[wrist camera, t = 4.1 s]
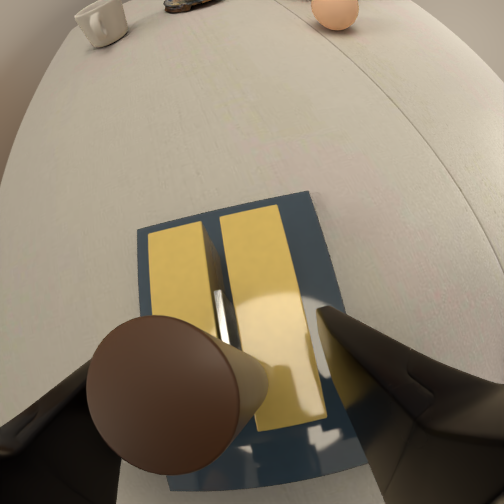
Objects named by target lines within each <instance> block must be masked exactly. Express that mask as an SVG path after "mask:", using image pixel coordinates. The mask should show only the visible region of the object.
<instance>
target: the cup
mask: <svg viewBox="0 0 504 504" xmlns="http://www.w3.org/2000/svg"><path fill="white" fill-rule="evenodd" d="M74 18H75V20H76V22H77V23H78V25H79V26H80V28H81V29H82V31H83V33H84V34H85V36H86V37H87V39H88V40H89V42H90V43H91V44H92V45H93V46H94V47H104V46H106V45H109V44H111V43H113V42H115V41H117V40H118V39H120V38H121V37H122V36H124V35H125V33H126V32H127V29H128V26H127V21H126V17H125V14H124V10H123V6H122V2H121V0H98V1H96V2H94V3H93V4H91V5H89V6H87V7H86V8H84V9H82V10H81V11H80V12H78V13H77V14H76V15H75V16H74Z"/></svg>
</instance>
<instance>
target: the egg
mask: <svg viewBox="0 0 504 504" xmlns="http://www.w3.org/2000/svg"><path fill="white" fill-rule="evenodd" d="M311 7H312V12H313V14H314V16H315V18H316V19H317V20H318V21H319V23H320V24H322V25H323V26H324V27H326V28H328V29H331V30H343V29H346V28H348V27H349V26H351V25H352V24H353V23H354V22H355V20H356V18H357V16H358V10H359V5H358V0H312V1H311Z"/></svg>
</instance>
